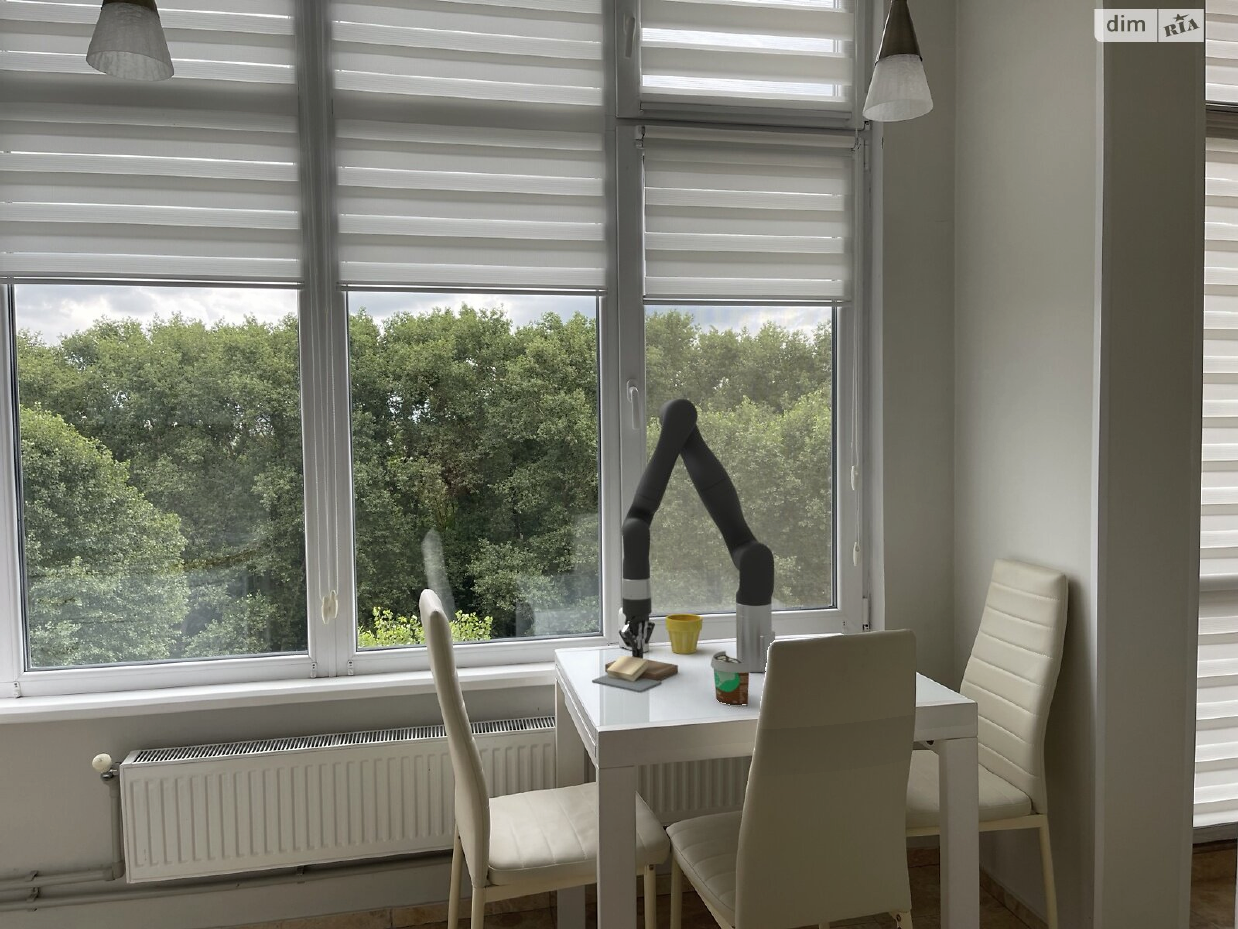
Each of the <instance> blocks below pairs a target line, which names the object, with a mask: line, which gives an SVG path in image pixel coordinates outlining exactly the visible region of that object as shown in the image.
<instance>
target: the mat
mask: <svg viewBox="0 0 1238 929" xmlns="http://www.w3.org/2000/svg"><path fill="white" fill-rule="evenodd" d="M591 682H592V683H593V684H599V685H603V686H609V687H612V688H617V689H622V688H623V690H625V691H626V690H627V691H632V692H636V691H637V692H636V693H640V694H641V693H643V692H645V691H647V690H650V689H652V688H655V687H657V686H659V685H662V684H663V682H662V681H661V680H659V681H656V680H651V679H646V678H641V677H638V678H637V679H636V680H635V681H634V682H633V681H628V680H623V679H618V678H613V677H608V673H607V674H605V675H603V676H600V677H597V678H594V679H592V680H591ZM642 691H643V692H642Z"/></svg>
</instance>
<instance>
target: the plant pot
mask: <svg viewBox="0 0 1238 929" xmlns="http://www.w3.org/2000/svg"><path fill="white" fill-rule="evenodd" d="M702 629H703V616H701V615H700V614H699V615H698V614H693V613H673V614H669V615H666V616H665V630H667V631H668V635H669V642H670V646H671V651H672V652H673V653H675V654H680V655H691V654H694V653H696V652H695V651H697V647H698V642H699V637H700V632H701V631H702Z"/></svg>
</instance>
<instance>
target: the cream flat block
mask: <svg viewBox="0 0 1238 929" xmlns="http://www.w3.org/2000/svg"><path fill="white" fill-rule="evenodd" d="M648 660H649V659H647V658H643V659H642V658H637V657H632V656H630V655H625V654H621V655H620V657H618V658H617V659H616V660H614V661H615V662H614V663H613V664H612V665H611V666H610V667H609V668H608V669H607V672H606V673H607V674H608V677H613V678H618V679H623V680H628V681H633V682H634V681H635V680H636V679H637V678H638V677H639V676H640V675H641V674H642V673H643V672H644V671H645V670H646V669H647V668H648V667H649V663H648Z"/></svg>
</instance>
